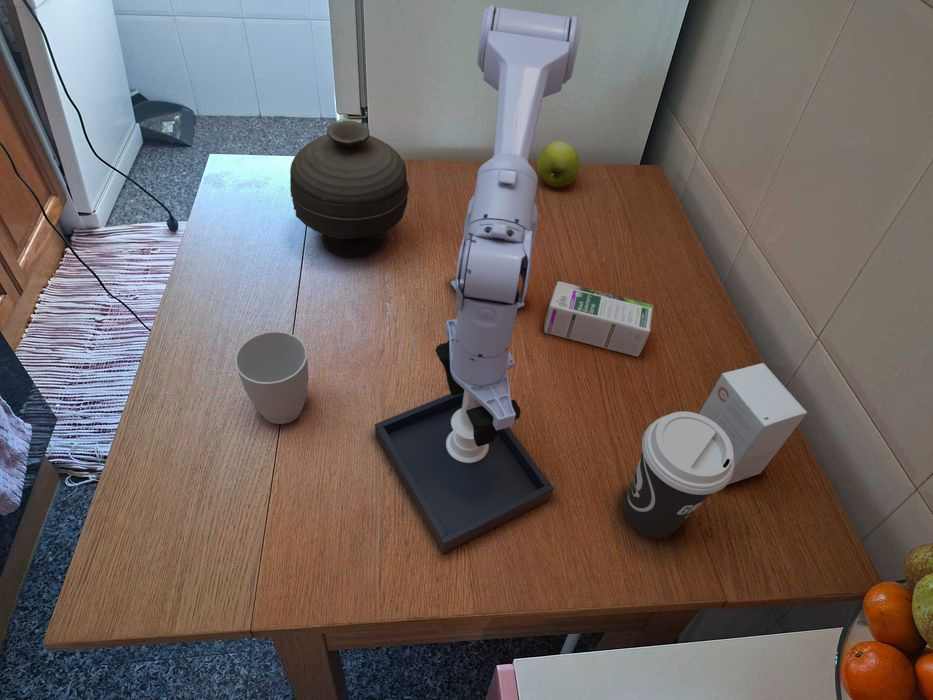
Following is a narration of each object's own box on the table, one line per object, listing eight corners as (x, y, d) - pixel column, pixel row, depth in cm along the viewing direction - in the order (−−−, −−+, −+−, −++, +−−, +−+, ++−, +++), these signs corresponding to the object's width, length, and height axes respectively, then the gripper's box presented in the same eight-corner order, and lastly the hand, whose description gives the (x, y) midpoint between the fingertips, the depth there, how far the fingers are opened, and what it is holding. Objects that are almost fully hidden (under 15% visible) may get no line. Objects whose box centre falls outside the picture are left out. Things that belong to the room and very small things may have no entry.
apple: (531, 192, 120) (538, 154, 114) (535, 166, 126) (542, 129, 120) (573, 199, 119) (582, 161, 113) (575, 173, 125) (584, 135, 120)
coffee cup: (644, 565, 72) (689, 498, 61) (595, 496, 78) (629, 422, 67) (707, 531, 76) (761, 462, 65) (656, 467, 81) (698, 393, 70)
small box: (760, 474, 82) (809, 413, 72) (720, 488, 80) (764, 427, 70) (722, 424, 87) (763, 360, 77) (683, 436, 85) (720, 372, 75)
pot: (433, 227, 109) (429, 121, 93) (367, 291, 99) (350, 184, 84) (350, 190, 115) (333, 84, 99) (280, 248, 105) (250, 140, 90)
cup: (325, 394, 84) (319, 343, 77) (294, 442, 79) (284, 392, 72) (270, 376, 86) (259, 323, 78) (236, 422, 80) (220, 370, 73)
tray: (375, 435, 81) (374, 423, 79) (474, 395, 87) (476, 382, 85) (442, 554, 71) (444, 543, 69) (550, 499, 77) (554, 488, 75)
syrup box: (651, 331, 89) (549, 303, 91) (638, 359, 94) (541, 332, 95) (654, 304, 93) (556, 278, 95) (642, 332, 98) (548, 307, 99)
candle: (437, 441, 80) (442, 380, 71) (470, 420, 83) (479, 359, 74) (464, 471, 78) (473, 411, 69) (497, 449, 80) (510, 389, 71)
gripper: (550, 379, 63) (528, 456, 73) (490, 283, 71) (478, 363, 81) (484, 398, 60) (471, 474, 70) (430, 296, 69) (425, 377, 79)
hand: (471, 416), depth 76 cm, fingers open, 7 cm apart
